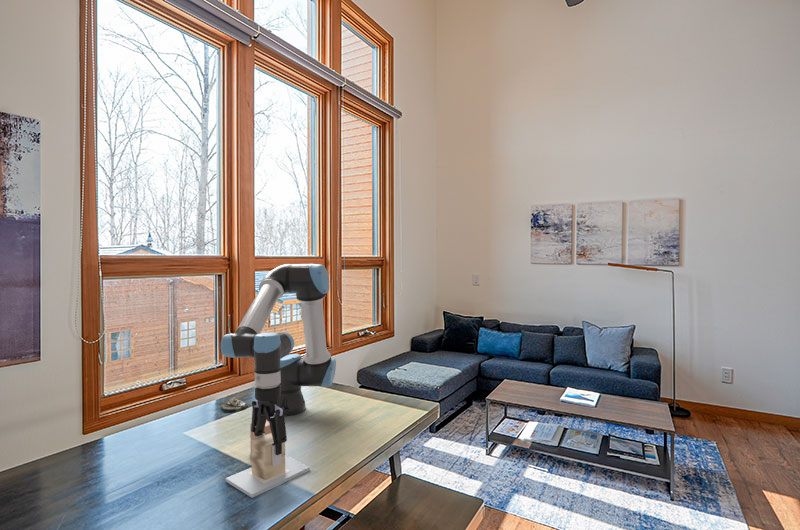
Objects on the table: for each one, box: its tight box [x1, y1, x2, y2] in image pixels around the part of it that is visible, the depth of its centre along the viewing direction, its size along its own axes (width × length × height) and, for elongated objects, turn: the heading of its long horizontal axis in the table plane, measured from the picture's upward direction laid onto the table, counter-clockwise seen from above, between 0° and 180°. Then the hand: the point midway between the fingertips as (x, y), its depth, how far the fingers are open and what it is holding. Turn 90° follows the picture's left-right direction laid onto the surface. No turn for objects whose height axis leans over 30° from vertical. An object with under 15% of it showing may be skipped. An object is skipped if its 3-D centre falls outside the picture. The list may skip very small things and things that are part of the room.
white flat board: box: [225, 454, 311, 499], centre depth 132 cm, size 14×20×1 cm
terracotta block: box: [249, 420, 271, 441], centre depth 148 cm, size 6×6×10 cm
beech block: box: [250, 433, 286, 480], centre depth 132 cm, size 7×7×10 cm
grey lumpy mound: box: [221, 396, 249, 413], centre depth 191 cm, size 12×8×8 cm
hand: (268, 460), depth 132 cm, fingers open, 7 cm apart
